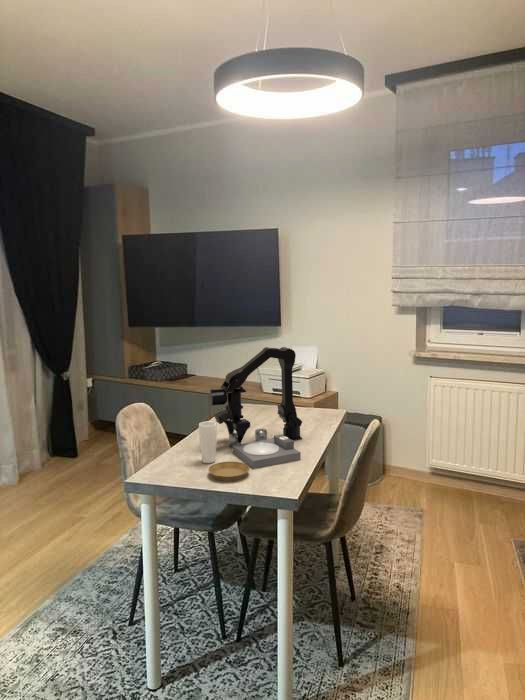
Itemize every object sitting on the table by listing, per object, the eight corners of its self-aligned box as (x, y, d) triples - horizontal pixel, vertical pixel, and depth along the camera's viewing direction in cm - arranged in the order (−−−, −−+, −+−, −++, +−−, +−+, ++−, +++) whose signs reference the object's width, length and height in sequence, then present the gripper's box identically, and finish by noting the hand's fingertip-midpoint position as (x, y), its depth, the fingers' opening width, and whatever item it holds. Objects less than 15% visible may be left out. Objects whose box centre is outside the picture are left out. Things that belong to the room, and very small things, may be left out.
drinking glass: (214, 465, 199) (213, 426, 197) (197, 464, 200) (196, 425, 198) (219, 458, 206) (218, 421, 203) (203, 457, 207) (201, 420, 205)
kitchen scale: (276, 444, 221) (276, 430, 220) (300, 459, 203) (300, 443, 202) (232, 452, 212) (232, 437, 212) (253, 468, 195) (253, 452, 194)
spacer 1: (238, 443, 224) (238, 431, 223) (243, 446, 219) (242, 435, 219) (227, 445, 222) (227, 433, 221) (231, 448, 217) (231, 436, 216)
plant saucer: (230, 464, 200) (230, 458, 199) (258, 474, 190) (258, 467, 189) (200, 476, 189) (199, 469, 189) (227, 487, 179) (227, 479, 179)
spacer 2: (263, 439, 229) (263, 427, 228) (269, 442, 224) (268, 430, 224) (253, 440, 227) (253, 429, 226) (258, 444, 222) (258, 432, 221)
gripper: (208, 400, 223) (209, 436, 225) (224, 411, 206) (225, 449, 208) (232, 397, 227) (233, 432, 230) (250, 407, 211) (251, 445, 213)
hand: (235, 439), depth 220 cm, fingers open, 9 cm apart
